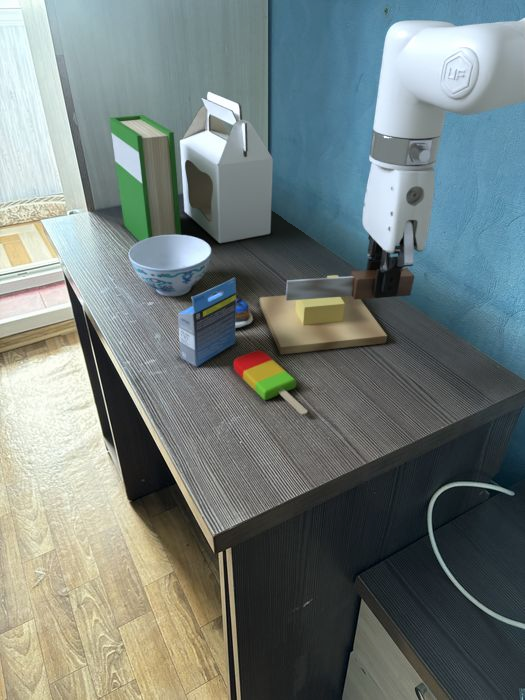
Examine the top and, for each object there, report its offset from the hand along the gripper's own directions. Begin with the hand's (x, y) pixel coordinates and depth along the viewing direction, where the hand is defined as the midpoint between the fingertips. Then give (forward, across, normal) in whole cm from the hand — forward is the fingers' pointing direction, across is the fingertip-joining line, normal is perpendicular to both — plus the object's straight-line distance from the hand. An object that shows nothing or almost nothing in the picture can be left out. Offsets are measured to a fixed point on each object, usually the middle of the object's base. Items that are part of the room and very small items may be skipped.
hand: (380, 289), depth 70 cm
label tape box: (+15, +10, +23) cm, 29 cm away
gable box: (+15, +64, +13) cm, 66 cm away
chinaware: (+15, +32, +27) cm, 45 cm away
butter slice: (+13, +21, -2) cm, 25 cm away
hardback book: (+15, +58, +30) cm, 67 cm away
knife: (0, 0, +5) cm, 5 cm away
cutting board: (+15, +16, +3) cm, 22 cm away
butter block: (+13, +16, +3) cm, 21 cm away
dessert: (+15, +20, +18) cm, 30 cm away
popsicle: (+15, 0, +14) cm, 21 cm away
